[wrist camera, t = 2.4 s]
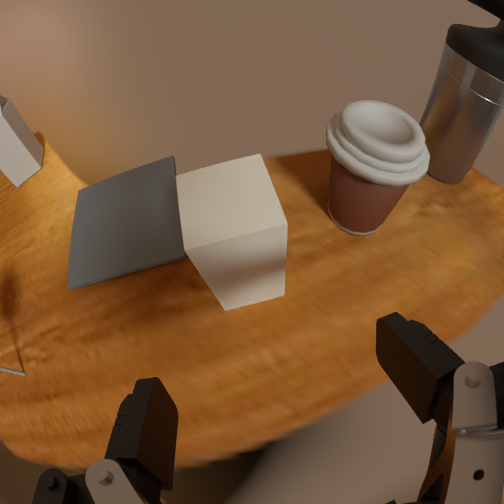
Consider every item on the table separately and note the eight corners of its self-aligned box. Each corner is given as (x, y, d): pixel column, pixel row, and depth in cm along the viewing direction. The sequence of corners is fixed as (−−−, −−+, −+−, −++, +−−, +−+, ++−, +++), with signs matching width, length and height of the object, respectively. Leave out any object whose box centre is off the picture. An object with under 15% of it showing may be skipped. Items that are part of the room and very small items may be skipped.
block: (268, 243, 28) (260, 153, 17) (284, 295, 25) (287, 223, 14) (213, 258, 27) (175, 175, 17) (225, 310, 25) (184, 250, 14)
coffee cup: (345, 262, 26) (383, 180, 15) (299, 195, 30) (304, 103, 19) (409, 226, 27) (456, 149, 16) (362, 169, 31) (384, 87, 20)
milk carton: (42, 168, 39) (-9, 98, 22) (17, 188, 38) (-35, 125, 21) (44, 149, 42) (1, 84, 25) (21, 167, 41) (-24, 108, 24)
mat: (174, 158, 34) (173, 155, 34) (186, 258, 28) (184, 255, 27) (80, 193, 34) (78, 190, 33) (70, 289, 27) (67, 288, 27)
